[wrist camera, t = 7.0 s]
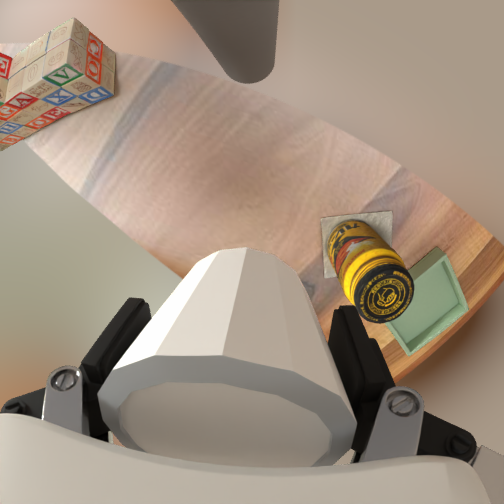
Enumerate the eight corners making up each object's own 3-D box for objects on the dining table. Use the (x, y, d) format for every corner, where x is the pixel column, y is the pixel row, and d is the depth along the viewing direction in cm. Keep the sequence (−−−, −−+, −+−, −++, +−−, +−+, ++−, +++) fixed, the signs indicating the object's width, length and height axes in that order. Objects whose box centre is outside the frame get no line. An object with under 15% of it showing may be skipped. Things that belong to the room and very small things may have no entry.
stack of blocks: (117, 52, 25) (58, 1, 13) (115, 96, 26) (45, 52, 13) (4, 114, 27) (-55, 100, 15) (1, 152, 27) (-62, 145, 15)
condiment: (320, 217, 31) (347, 264, 20) (391, 210, 30) (446, 250, 19) (324, 277, 34) (346, 343, 23) (390, 268, 33) (433, 325, 22)
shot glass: (238, 381, 14) (223, 500, 8) (139, 295, 13) (62, 408, 6) (350, 314, 12) (396, 446, 6) (250, 196, 11) (221, 290, 4)
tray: (369, 299, 35) (375, 310, 32) (436, 246, 31) (446, 253, 29) (403, 346, 37) (408, 356, 35) (461, 300, 34) (469, 309, 32)
